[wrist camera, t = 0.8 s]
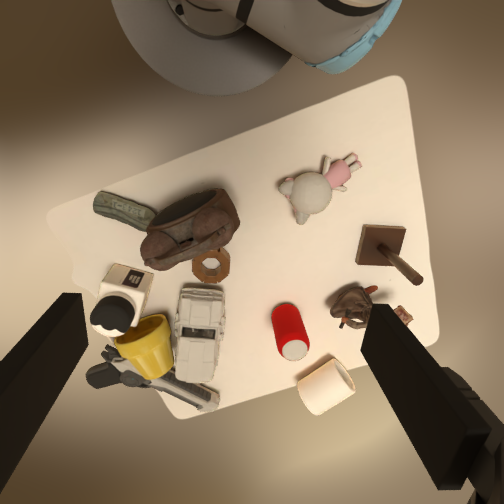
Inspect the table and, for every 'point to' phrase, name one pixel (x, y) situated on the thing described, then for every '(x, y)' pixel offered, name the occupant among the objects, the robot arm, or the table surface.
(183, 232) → the alarm clock
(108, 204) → the stone
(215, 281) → the ring
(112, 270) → the container
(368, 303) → the figurine
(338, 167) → the toy
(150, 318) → the flower pot
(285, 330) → the beverage can
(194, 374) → the toy car
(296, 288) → the table surface
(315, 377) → the mug
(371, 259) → the peg stand
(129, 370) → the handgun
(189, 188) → the table surface
